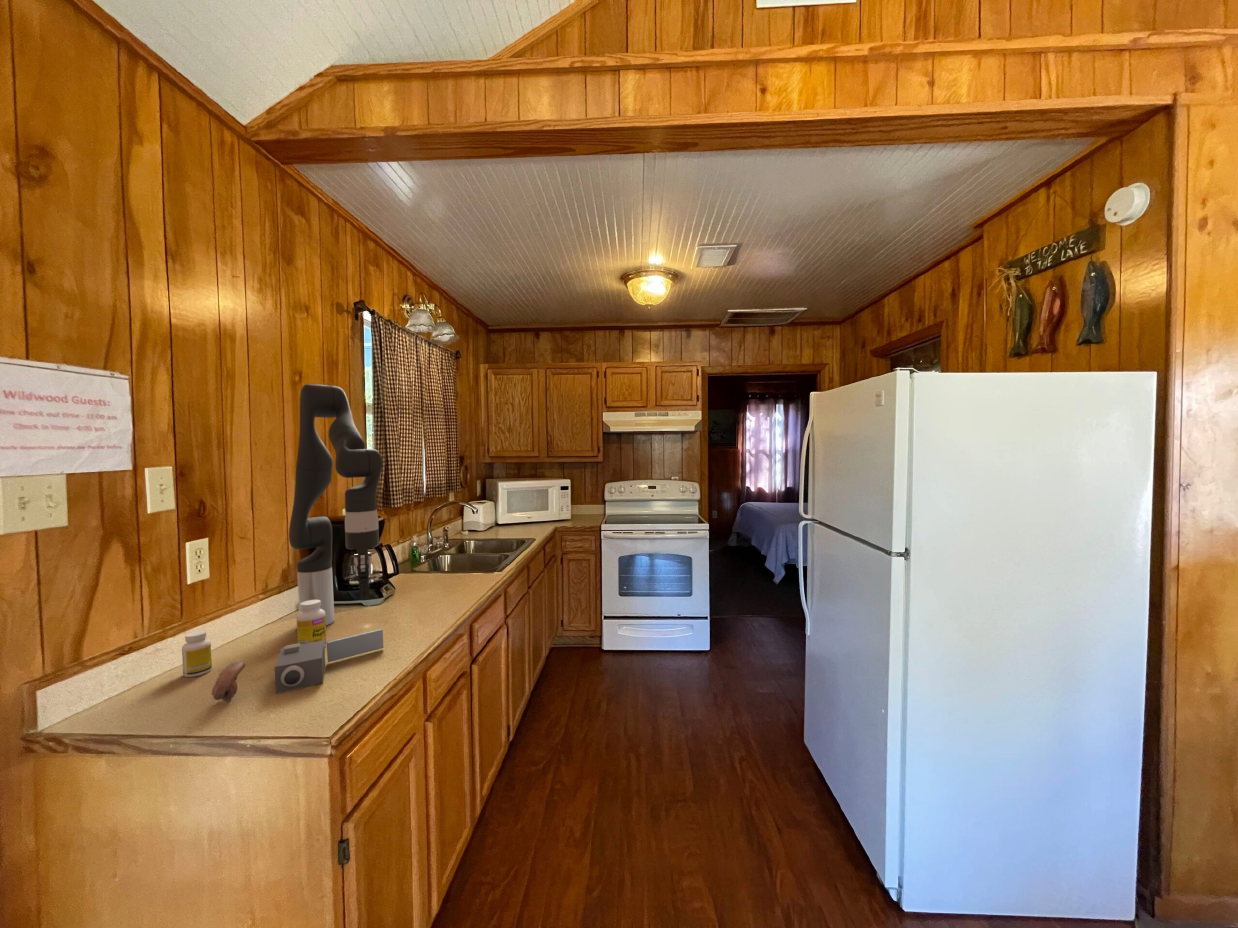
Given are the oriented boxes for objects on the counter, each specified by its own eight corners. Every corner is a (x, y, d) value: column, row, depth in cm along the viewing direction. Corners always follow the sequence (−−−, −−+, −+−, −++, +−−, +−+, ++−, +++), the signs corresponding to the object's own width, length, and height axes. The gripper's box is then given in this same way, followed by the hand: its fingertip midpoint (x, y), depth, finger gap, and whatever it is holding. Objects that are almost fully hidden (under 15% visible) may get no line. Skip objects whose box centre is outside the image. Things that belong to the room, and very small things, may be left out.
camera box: (282, 672, 121) (281, 643, 121) (325, 663, 126) (324, 636, 125) (275, 696, 109) (273, 665, 109) (322, 686, 114) (321, 656, 113)
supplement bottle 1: (217, 669, 124) (215, 630, 124) (192, 679, 119) (190, 638, 119) (202, 666, 126) (200, 628, 125) (177, 676, 121) (175, 636, 120)
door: (328, 662, 125) (327, 642, 125) (327, 660, 126) (326, 641, 126) (383, 647, 134) (382, 629, 133) (382, 646, 135) (381, 628, 134)
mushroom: (227, 710, 104) (225, 673, 104) (199, 710, 104) (197, 673, 104) (256, 692, 111) (254, 657, 111) (230, 692, 112) (228, 657, 112)
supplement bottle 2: (313, 654, 132) (310, 606, 131) (292, 653, 133) (289, 605, 132) (332, 644, 138) (330, 598, 138) (312, 643, 139) (309, 597, 139)
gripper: (378, 531, 121) (381, 601, 122) (378, 523, 133) (380, 587, 134) (343, 534, 118) (346, 606, 119) (346, 525, 129) (348, 591, 130)
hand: (364, 596), depth 126 cm, fingers closed
